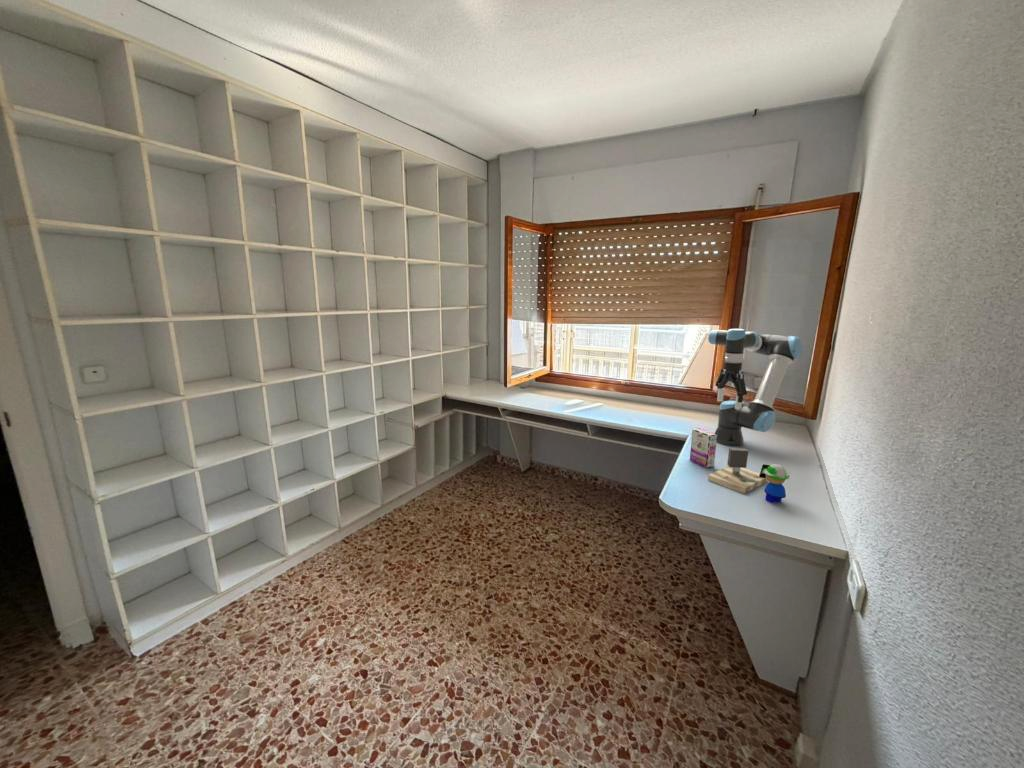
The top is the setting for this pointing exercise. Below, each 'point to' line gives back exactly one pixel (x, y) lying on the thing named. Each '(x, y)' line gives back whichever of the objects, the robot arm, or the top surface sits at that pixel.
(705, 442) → the candy bar box
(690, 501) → the top surface
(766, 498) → the toy
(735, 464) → the peg
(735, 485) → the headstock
